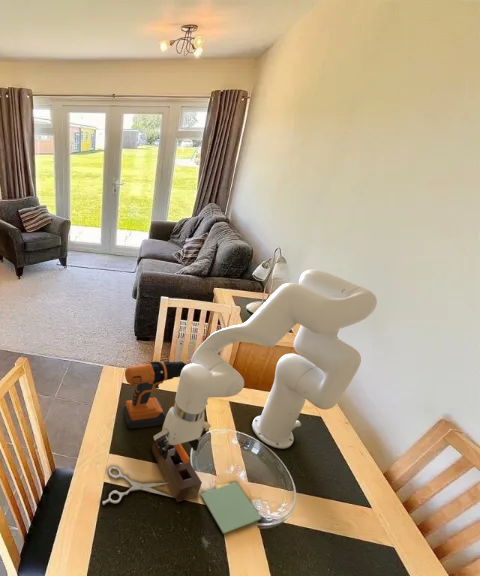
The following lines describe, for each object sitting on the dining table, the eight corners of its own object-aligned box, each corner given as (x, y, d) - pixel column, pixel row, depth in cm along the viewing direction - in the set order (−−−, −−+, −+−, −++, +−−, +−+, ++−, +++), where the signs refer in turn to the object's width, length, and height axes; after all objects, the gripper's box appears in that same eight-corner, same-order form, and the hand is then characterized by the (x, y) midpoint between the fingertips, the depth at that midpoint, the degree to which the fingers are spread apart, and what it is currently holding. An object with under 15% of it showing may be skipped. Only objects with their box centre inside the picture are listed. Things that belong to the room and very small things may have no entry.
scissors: (103, 466, 95) (170, 470, 94) (103, 467, 95) (170, 472, 94) (102, 503, 85) (176, 509, 84) (102, 505, 86) (176, 510, 85)
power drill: (173, 405, 117) (185, 352, 105) (182, 422, 110) (195, 367, 99) (117, 413, 113) (123, 358, 101) (123, 430, 106) (129, 374, 95)
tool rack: (170, 446, 102) (172, 433, 99) (197, 495, 88) (202, 482, 86) (151, 451, 100) (153, 439, 97) (177, 502, 87) (180, 489, 84)
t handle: (169, 459, 98) (175, 433, 92) (183, 484, 91) (190, 457, 86) (163, 460, 97) (169, 434, 92) (177, 486, 90) (184, 459, 85)
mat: (235, 483, 92) (236, 481, 92) (260, 519, 83) (261, 518, 83) (200, 495, 88) (200, 493, 88) (223, 534, 80) (223, 533, 80)
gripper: (208, 390, 87) (196, 432, 95) (152, 403, 82) (144, 446, 90) (225, 411, 81) (211, 454, 89) (166, 426, 76) (156, 471, 84)
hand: (177, 450), depth 89 cm, fingers open, 9 cm apart
